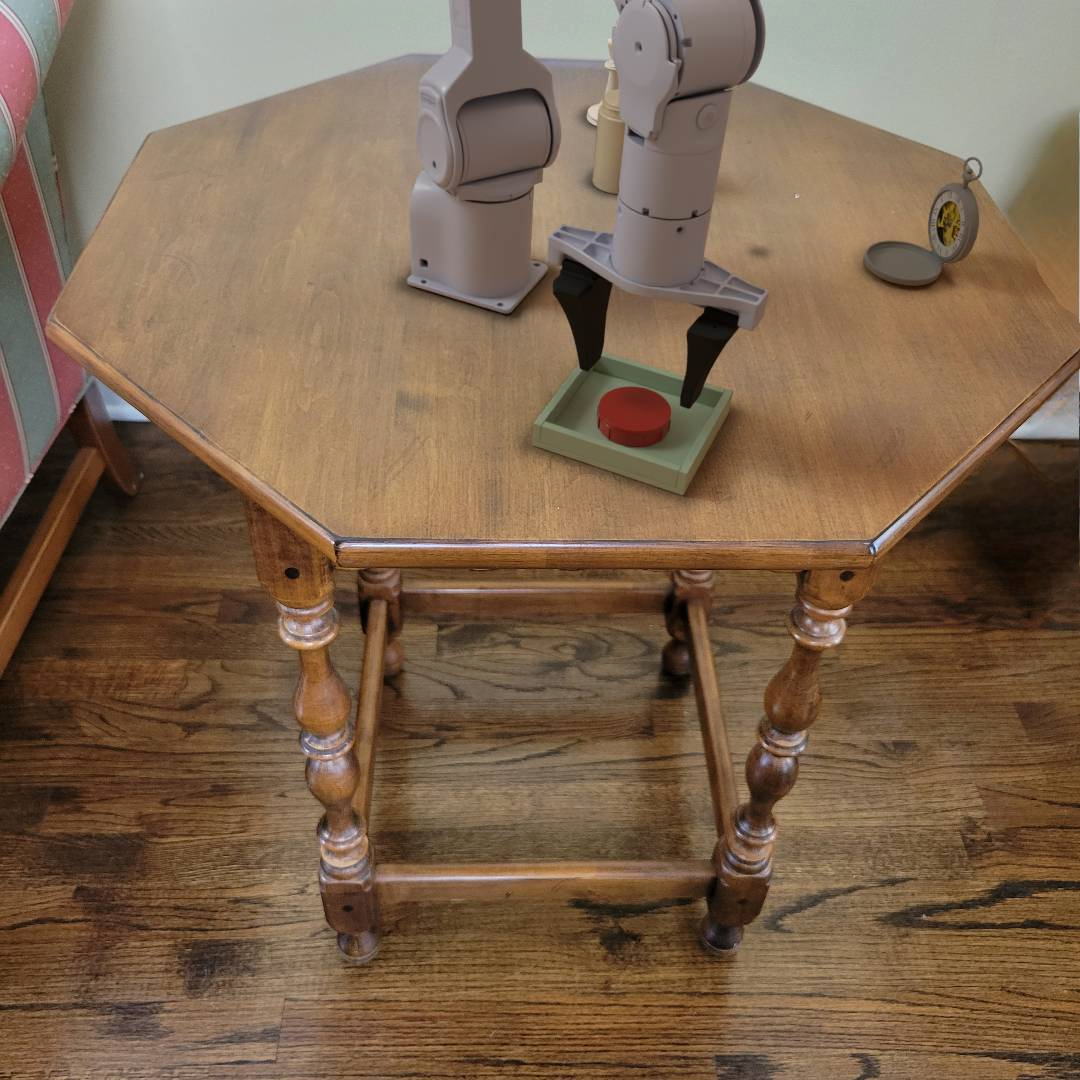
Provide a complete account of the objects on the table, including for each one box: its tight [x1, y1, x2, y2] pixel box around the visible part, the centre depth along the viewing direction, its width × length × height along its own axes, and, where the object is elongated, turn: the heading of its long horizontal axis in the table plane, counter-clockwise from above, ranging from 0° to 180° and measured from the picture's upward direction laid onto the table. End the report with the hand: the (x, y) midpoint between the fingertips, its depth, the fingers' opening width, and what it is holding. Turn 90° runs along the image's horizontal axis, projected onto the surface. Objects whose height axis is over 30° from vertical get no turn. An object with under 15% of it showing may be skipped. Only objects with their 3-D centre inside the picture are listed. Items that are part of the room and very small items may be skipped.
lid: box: [597, 386, 671, 447], centre depth 75 cm, size 5×5×2 cm
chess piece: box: [586, 18, 619, 127], centre depth 110 cm, size 5×5×10 cm
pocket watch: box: [863, 156, 984, 287], centre depth 91 cm, size 8×8×10 cm
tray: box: [532, 350, 734, 496], centre depth 76 cm, size 11×10×2 cm
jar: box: [591, 89, 626, 195], centre depth 100 cm, size 5×5×8 cm
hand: (639, 381), depth 74 cm, fingers open, 7 cm apart
